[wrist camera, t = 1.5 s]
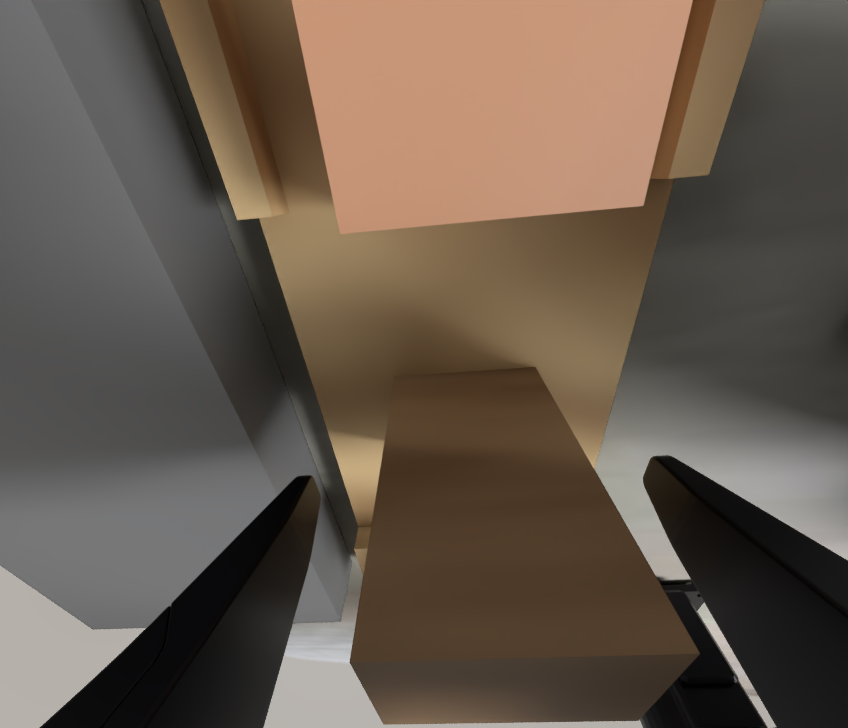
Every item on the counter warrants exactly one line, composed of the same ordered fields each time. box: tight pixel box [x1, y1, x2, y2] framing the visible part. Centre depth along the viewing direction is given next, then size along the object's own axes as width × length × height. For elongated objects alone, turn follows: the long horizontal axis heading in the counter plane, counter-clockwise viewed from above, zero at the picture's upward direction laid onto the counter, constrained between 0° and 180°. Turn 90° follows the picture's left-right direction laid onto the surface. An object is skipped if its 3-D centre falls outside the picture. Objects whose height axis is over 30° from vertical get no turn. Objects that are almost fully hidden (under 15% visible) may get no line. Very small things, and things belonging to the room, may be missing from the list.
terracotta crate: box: [292, 0, 693, 234], centre depth 5 cm, size 4×4×4 cm
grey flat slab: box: [0, 0, 352, 629], centre depth 12 cm, size 26×14×3 cm, turn 5°
